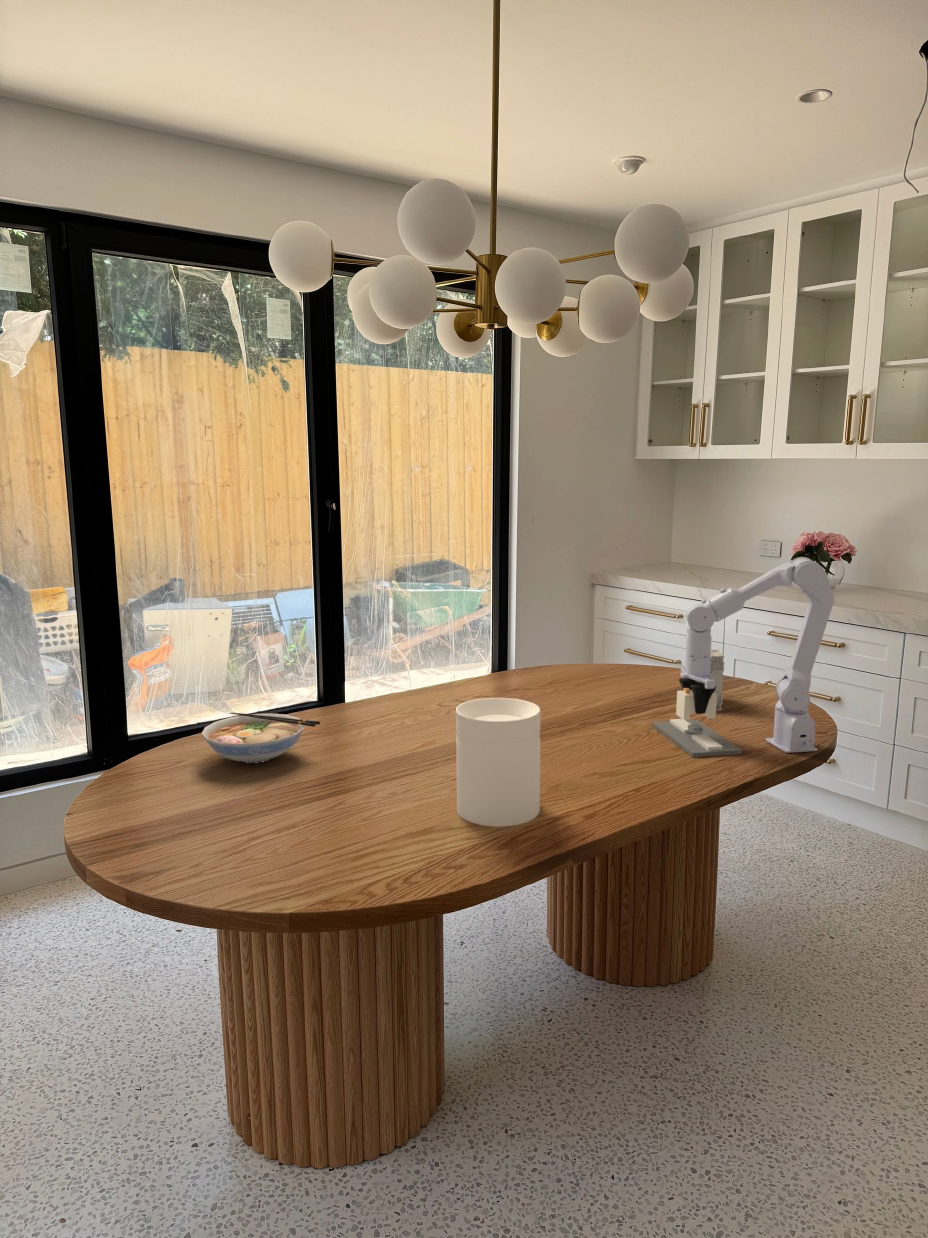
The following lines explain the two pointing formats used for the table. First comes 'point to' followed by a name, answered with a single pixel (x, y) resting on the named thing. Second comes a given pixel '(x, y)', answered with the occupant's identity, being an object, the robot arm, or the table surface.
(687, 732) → the din board
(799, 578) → the robot arm
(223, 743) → the ramen bowl
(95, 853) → the table surface
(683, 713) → the block
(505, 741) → the canister
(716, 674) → the circuit breaker
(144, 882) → the table surface
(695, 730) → the block
